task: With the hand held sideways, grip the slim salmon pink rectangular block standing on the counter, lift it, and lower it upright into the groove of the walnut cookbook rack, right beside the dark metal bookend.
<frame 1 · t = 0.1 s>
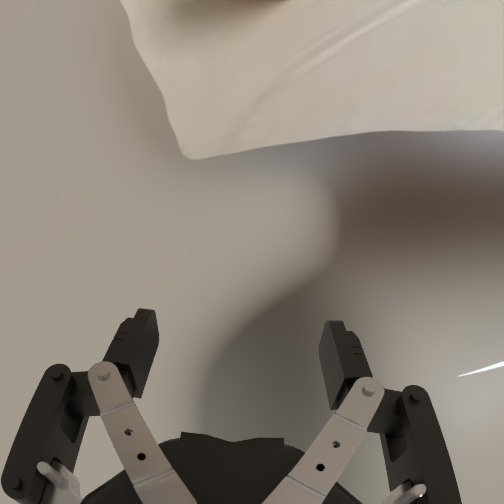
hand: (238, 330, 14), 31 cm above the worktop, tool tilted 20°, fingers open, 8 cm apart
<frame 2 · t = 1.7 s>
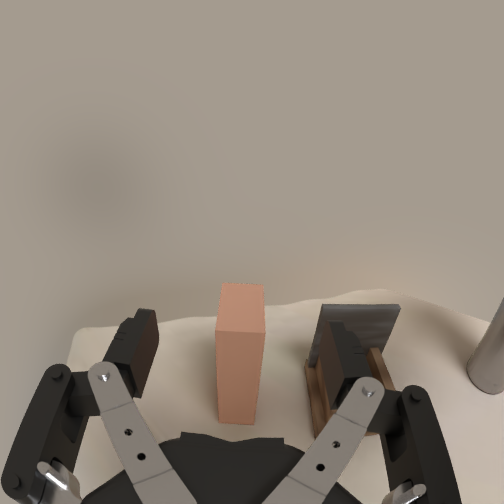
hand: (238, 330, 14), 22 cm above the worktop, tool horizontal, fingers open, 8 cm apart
cookbook rack: (347, 398, 34), on the worktop
salmon pink rectangular block: (237, 400, 34), on the worktop
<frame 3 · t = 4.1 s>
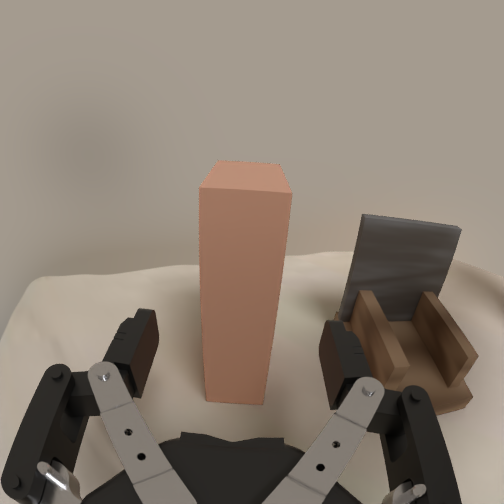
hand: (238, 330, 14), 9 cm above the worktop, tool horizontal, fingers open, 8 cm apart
cookbook rack: (397, 365, 23), on the worktop
salmon pink rectangular block: (236, 368, 23), on the worktop
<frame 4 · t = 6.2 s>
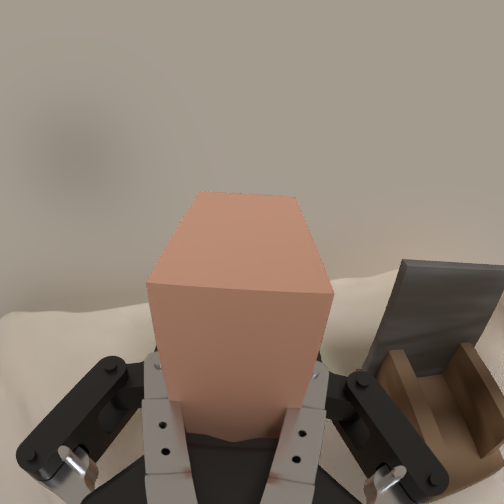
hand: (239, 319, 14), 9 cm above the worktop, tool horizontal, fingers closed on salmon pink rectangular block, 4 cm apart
cookbook rack: (425, 432, 16), on the worktop
salmon pink rectangular block: (233, 449, 16), on the worktop, touching gripper
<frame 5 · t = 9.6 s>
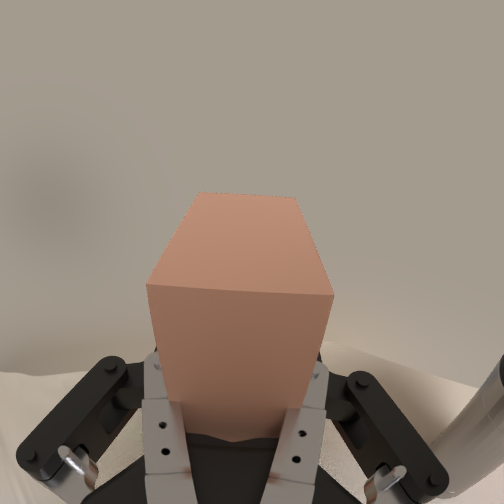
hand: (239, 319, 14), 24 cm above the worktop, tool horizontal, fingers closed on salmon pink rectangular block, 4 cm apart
salmon pink rectangular block: (233, 449, 16), point 15 cm above the worktop, touching gripper
when the fingers open (11 cm above the worktop, at t = 12.9 s): salmon pink rectangular block stays where it is, resting on cookbook rack.
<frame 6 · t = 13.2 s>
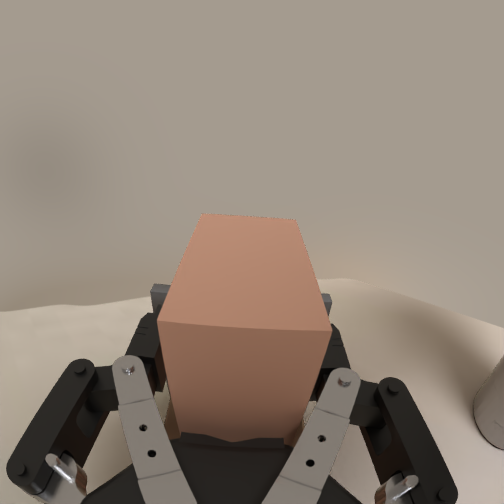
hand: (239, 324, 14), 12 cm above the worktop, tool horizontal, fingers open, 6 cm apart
cookbook rack: (232, 462, 17), on the worktop
salmon pink rectangular block: (234, 455, 16), point 2 cm above the worktop, touching cookbook rack
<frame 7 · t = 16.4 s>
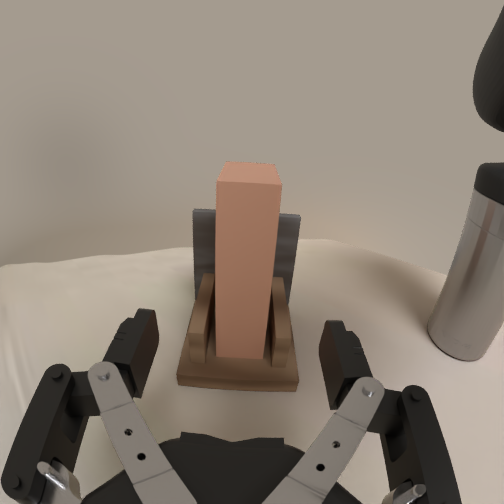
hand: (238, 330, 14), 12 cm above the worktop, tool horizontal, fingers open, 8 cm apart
cookbook rack: (239, 342, 29), on the worktop
salmon pink rectangular block: (240, 331, 28), point 1 cm above the worktop, touching cookbook rack
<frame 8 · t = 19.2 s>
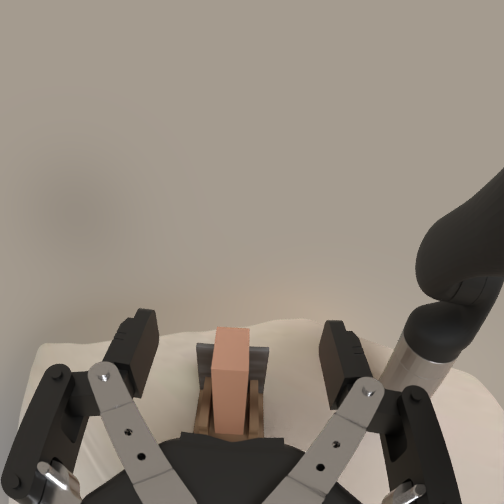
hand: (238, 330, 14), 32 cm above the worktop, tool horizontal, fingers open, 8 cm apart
cookbook rack: (229, 419, 41), on the worktop
salmon pink rectangular block: (230, 414, 40), point 1 cm above the worktop, touching cookbook rack
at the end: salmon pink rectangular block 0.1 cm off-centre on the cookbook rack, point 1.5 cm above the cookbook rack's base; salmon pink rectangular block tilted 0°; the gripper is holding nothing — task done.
